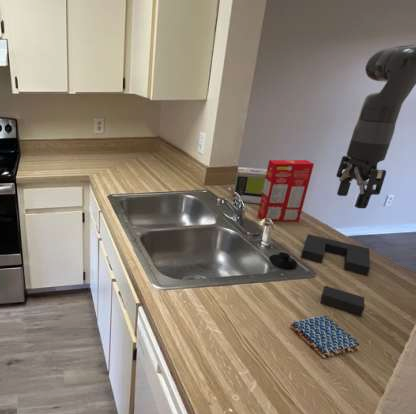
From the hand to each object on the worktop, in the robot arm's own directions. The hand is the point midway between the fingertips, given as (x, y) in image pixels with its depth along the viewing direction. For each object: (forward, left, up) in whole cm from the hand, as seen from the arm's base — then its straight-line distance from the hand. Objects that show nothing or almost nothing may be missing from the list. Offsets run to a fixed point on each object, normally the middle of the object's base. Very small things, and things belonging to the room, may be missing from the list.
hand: (350, 201), depth 86 cm
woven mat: (-2, +23, -28) cm, 36 cm away
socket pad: (-2, -22, -28) cm, 36 cm away
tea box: (+34, -60, -28) cm, 75 cm away
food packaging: (+19, -44, -28) cm, 56 cm away
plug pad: (-5, +6, -28) cm, 29 cm away
